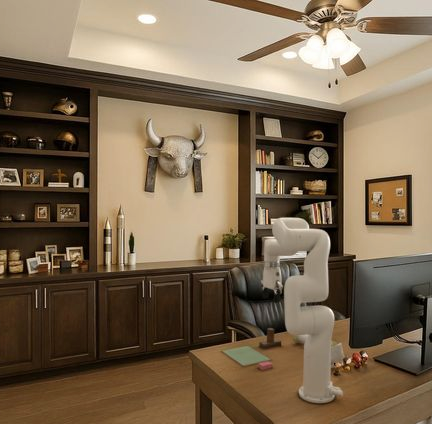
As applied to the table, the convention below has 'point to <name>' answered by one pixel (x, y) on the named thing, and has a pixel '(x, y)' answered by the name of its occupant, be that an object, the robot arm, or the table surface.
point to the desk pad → (246, 355)
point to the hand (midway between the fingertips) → (271, 300)
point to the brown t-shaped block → (270, 340)
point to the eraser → (265, 365)
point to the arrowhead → (337, 355)
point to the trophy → (303, 337)
